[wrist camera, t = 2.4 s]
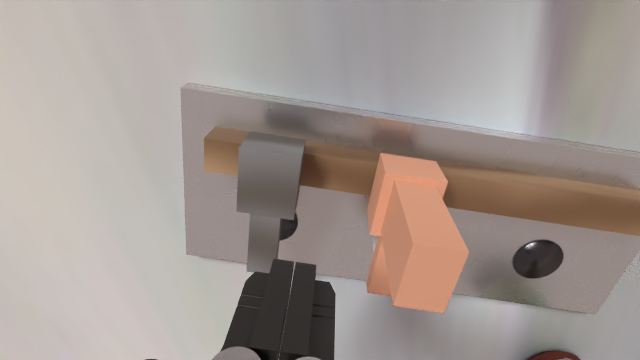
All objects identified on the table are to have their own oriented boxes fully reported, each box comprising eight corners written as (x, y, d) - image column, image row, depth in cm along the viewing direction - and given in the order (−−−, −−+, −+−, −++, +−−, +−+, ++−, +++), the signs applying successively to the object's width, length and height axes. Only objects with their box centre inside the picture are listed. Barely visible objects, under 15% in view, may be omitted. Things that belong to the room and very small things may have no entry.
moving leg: (377, 140, 21) (401, 234, 12) (428, 148, 21) (486, 247, 12) (353, 245, 24) (359, 374, 16) (397, 252, 24) (426, 384, 16)
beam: (215, 113, 21) (186, 140, 17) (650, 179, 21) (720, 220, 17) (214, 221, 24) (190, 264, 20) (589, 276, 25) (636, 329, 21)
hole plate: (188, 83, 21) (179, 87, 20) (678, 158, 22) (697, 167, 21) (192, 244, 27) (186, 255, 26) (585, 301, 27) (596, 315, 26)
